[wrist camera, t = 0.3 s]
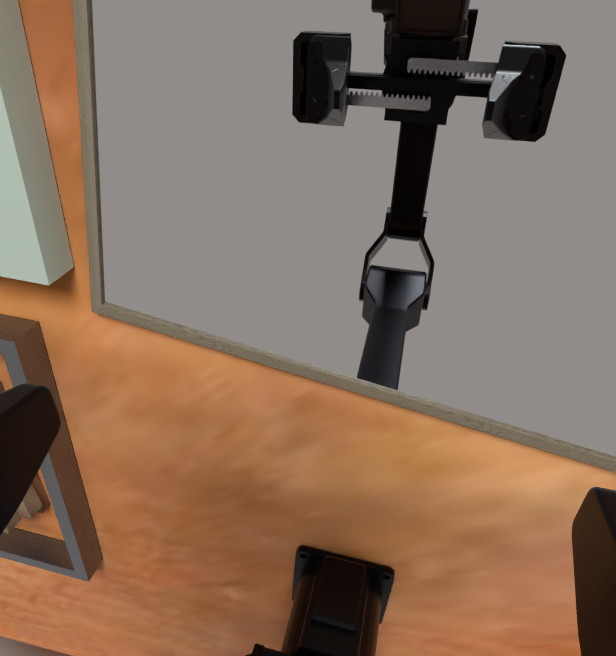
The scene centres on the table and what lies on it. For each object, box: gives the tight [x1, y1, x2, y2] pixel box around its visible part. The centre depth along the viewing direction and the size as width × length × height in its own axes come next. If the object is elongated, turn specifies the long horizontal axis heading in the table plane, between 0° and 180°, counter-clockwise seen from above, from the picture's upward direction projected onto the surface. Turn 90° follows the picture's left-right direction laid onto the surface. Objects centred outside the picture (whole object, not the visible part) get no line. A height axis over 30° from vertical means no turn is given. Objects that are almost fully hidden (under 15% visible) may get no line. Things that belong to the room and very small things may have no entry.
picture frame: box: [72, 0, 616, 472], centre depth 21 cm, size 19×1×28 cm
